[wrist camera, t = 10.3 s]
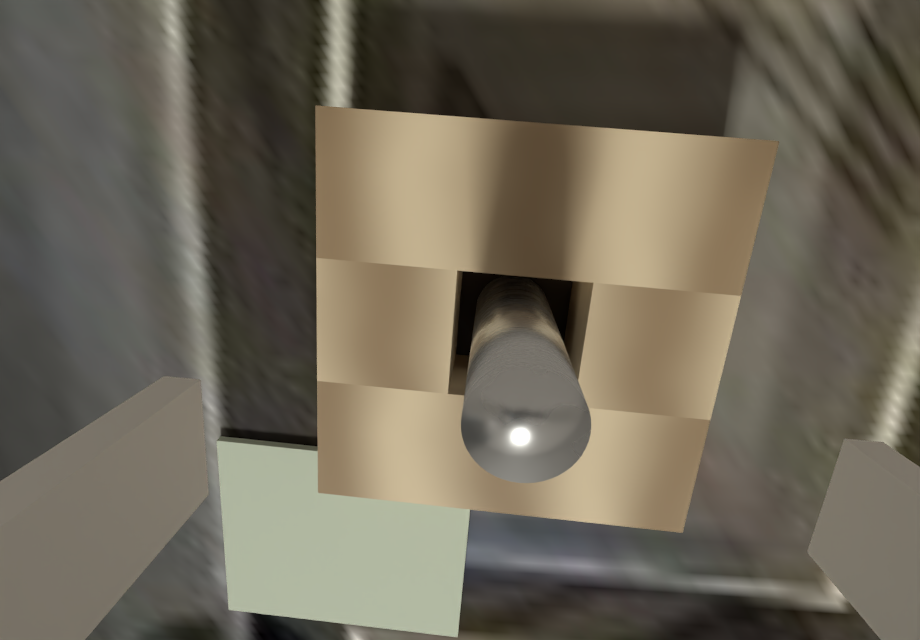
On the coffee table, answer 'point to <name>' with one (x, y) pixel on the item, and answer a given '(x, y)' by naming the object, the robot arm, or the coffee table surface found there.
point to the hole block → (530, 255)
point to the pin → (521, 387)
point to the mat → (334, 546)
